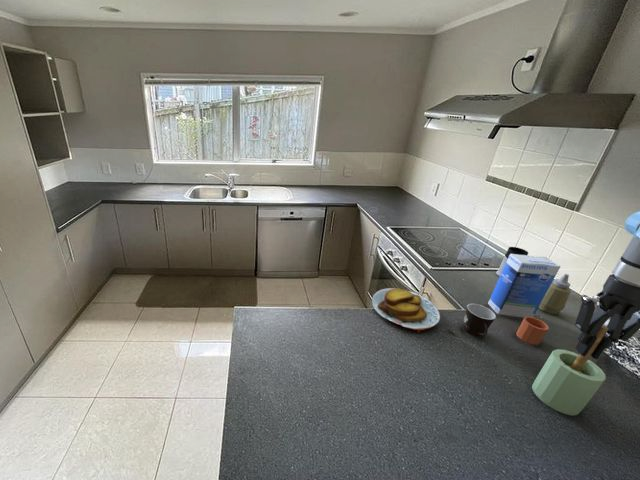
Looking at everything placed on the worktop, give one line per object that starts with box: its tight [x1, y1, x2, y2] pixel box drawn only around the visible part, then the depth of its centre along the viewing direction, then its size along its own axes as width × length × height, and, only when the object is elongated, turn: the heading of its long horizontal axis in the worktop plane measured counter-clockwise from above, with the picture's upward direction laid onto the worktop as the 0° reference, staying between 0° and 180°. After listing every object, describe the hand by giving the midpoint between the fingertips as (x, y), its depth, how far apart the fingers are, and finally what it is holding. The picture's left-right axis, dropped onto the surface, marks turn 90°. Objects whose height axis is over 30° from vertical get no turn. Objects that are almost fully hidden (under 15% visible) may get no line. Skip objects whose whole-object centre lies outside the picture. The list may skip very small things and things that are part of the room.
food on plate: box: [371, 287, 441, 333], centre depth 115 cm, size 25×25×7 cm
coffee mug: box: [461, 303, 497, 338], centre depth 104 cm, size 12×9×10 cm
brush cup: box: [515, 316, 550, 346], centre depth 103 cm, size 7×7×8 cm
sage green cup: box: [531, 348, 607, 416], centre depth 80 cm, size 10×10×14 cm
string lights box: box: [487, 254, 561, 319], centre depth 113 cm, size 13×8×26 cm, turn 80°
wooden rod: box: [567, 325, 609, 374], centre depth 76 cm, size 4×4×21 cm
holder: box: [495, 246, 529, 277], centre depth 139 cm, size 9×14×15 cm, turn 167°
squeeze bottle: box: [538, 273, 571, 315], centre depth 117 cm, size 8×8×18 cm
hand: (585, 353), depth 76 cm, fingers closed on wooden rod, 2 cm apart
